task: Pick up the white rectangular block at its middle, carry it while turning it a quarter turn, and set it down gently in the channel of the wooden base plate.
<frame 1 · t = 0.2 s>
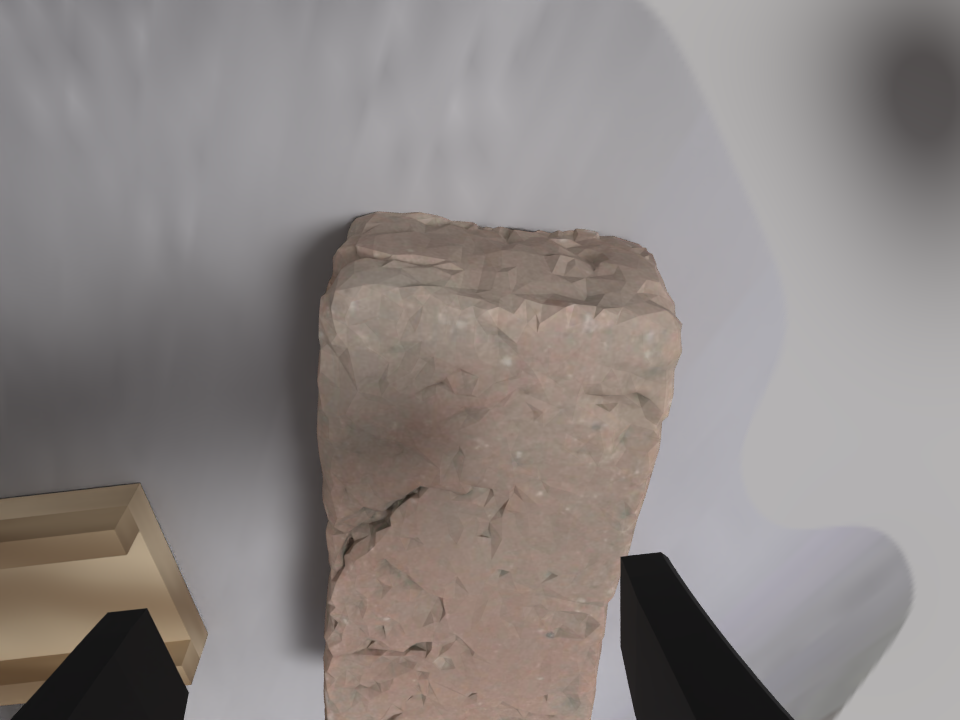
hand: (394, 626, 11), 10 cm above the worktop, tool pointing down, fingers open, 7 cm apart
wooden base plate: (12, 582, 24), on the worktop
brick: (469, 463, 23), on the worktop
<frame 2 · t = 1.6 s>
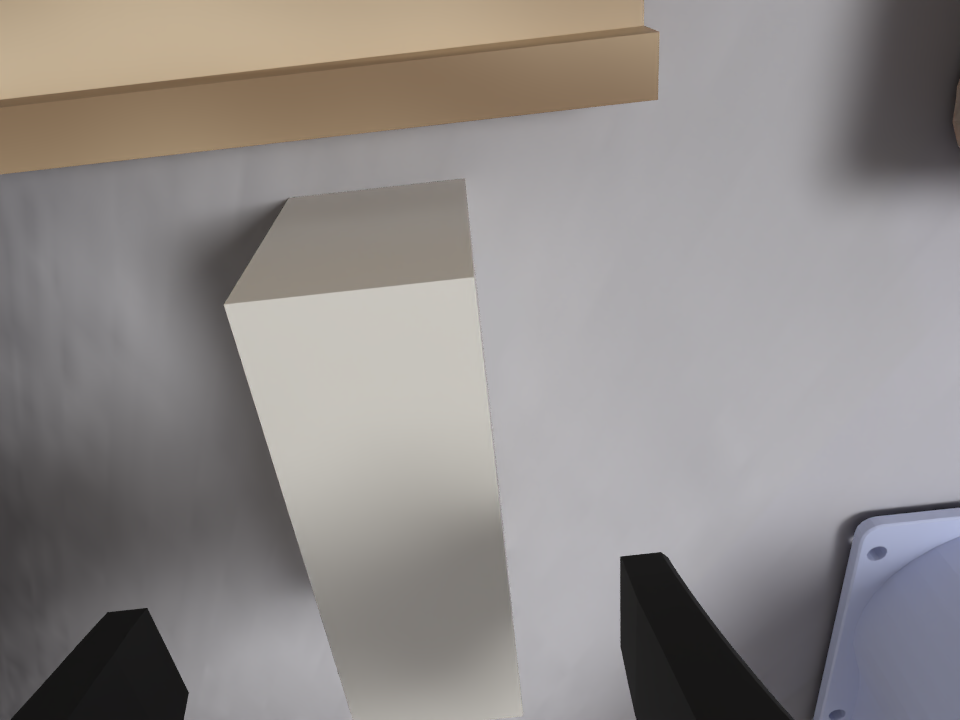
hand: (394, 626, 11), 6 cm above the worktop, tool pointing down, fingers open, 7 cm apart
white rectangular block: (413, 395, 17), on the worktop
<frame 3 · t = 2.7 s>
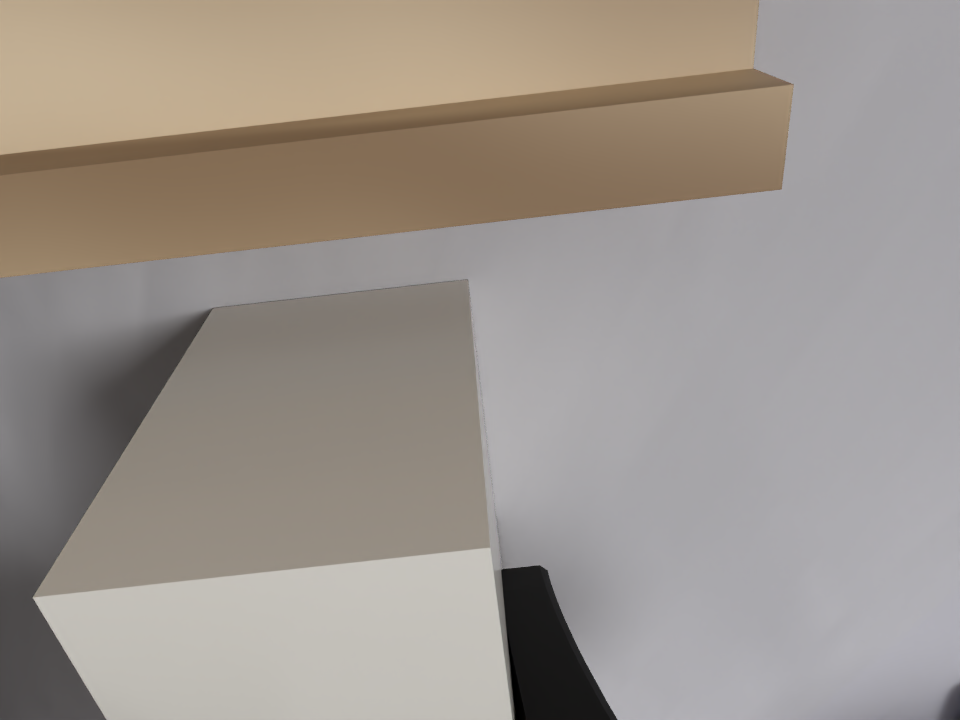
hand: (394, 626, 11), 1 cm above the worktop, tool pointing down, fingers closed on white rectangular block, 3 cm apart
white rectangular block: (398, 557, 12), on the worktop, touching gripper
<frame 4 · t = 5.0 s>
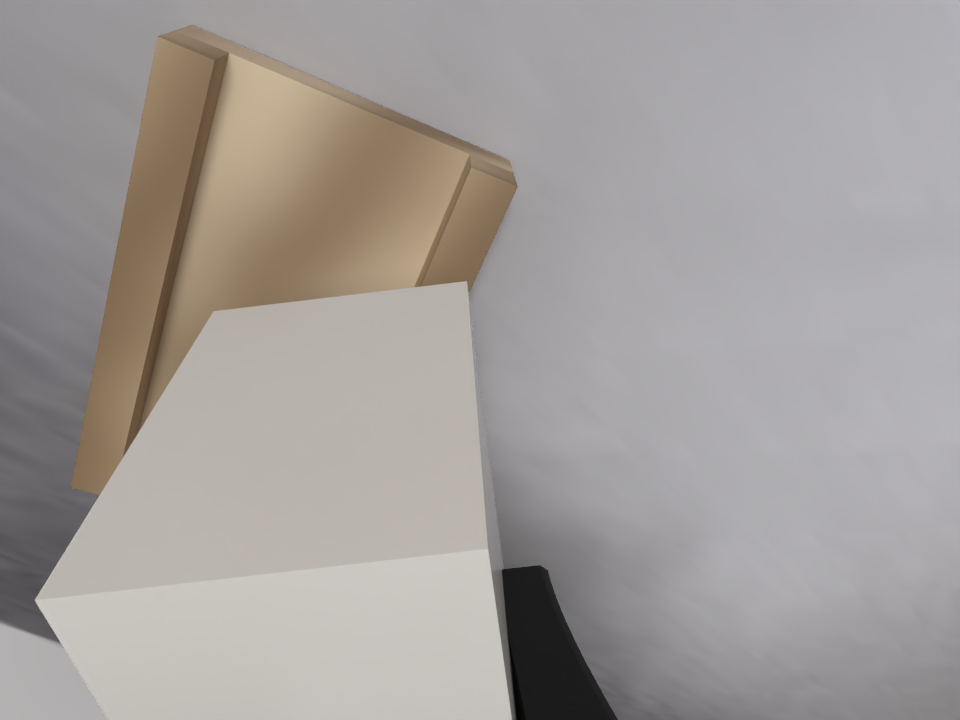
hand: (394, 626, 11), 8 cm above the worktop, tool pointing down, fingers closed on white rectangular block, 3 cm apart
wooden base plate: (287, 312, 18), on the worktop
white rectangular block: (399, 558, 12), point 7 cm above the worktop, touching gripper
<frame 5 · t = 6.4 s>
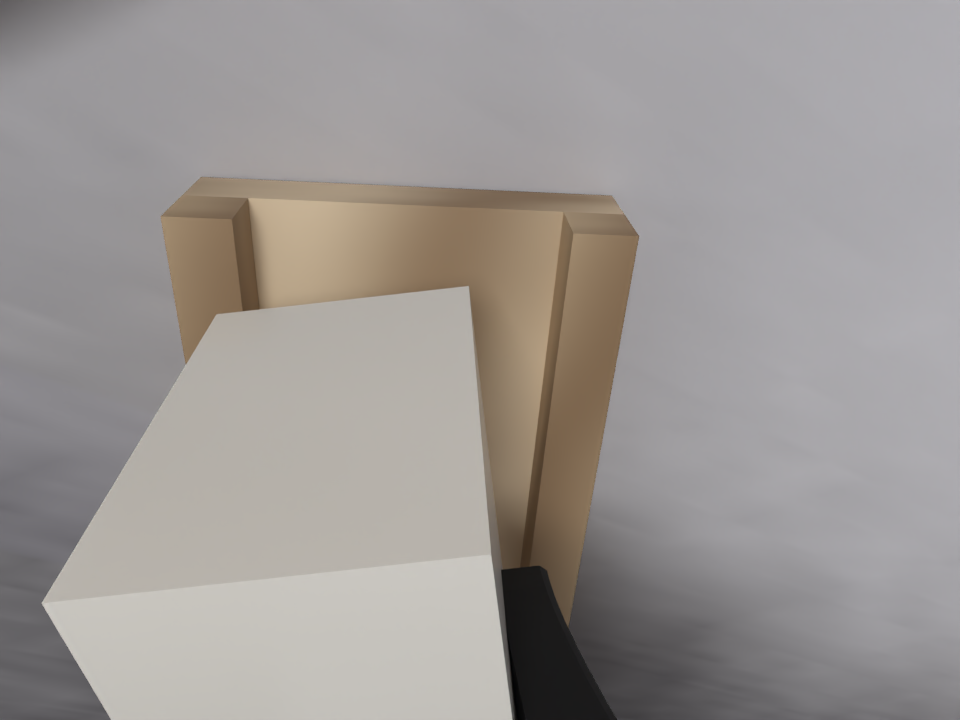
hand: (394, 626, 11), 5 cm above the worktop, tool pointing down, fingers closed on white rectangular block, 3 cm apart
wooden base plate: (407, 444, 15), on the worktop
white rectangular block: (399, 560, 12), point 3 cm above the worktop, touching gripper
when the fingers open (3 cm above the worktop, at t = 7.1 s): white rectangular block stays where it is, resting on wooden base plate.
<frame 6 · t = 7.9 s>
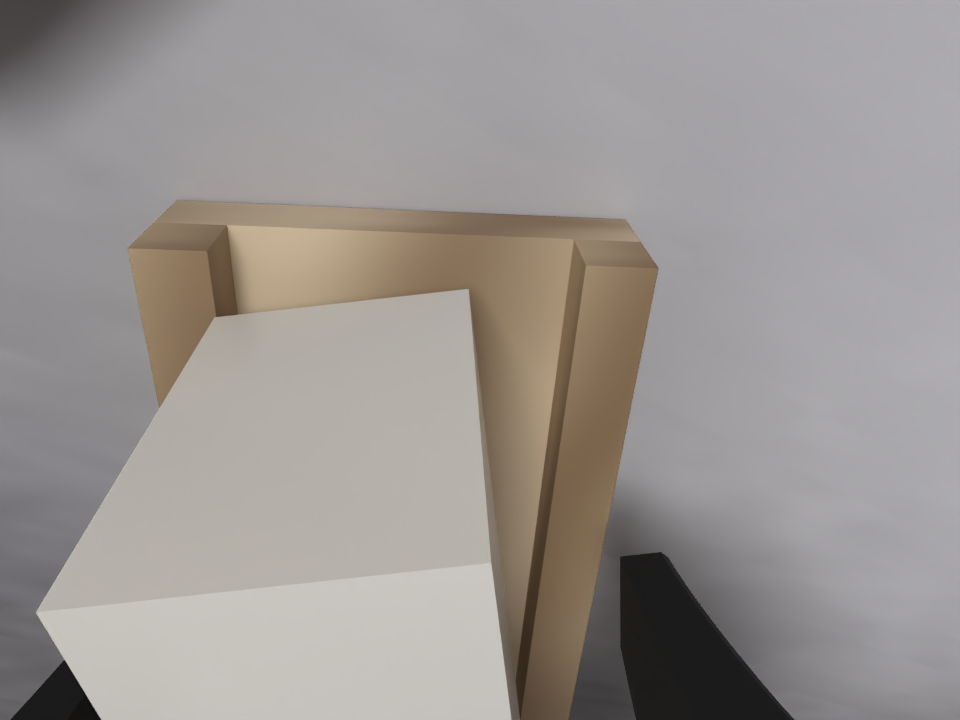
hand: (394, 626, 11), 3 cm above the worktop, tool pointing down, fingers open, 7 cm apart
wooden base plate: (403, 483, 14), on the worktop
white rectangular block: (399, 564, 12), point 2 cm above the worktop, touching wooden base plate
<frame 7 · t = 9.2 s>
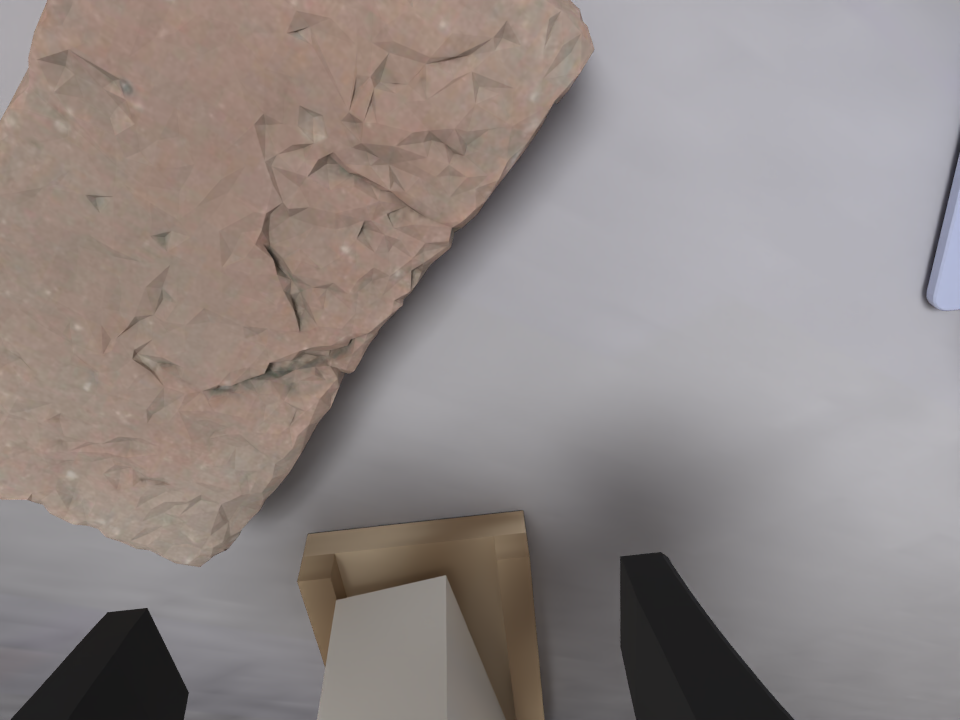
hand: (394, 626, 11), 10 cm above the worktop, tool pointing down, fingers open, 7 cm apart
wooden base plate: (437, 635, 26), on the worktop
white rectangular block: (437, 686, 24), point 2 cm above the worktop, touching wooden base plate
brick: (245, 201, 18), on the worktop
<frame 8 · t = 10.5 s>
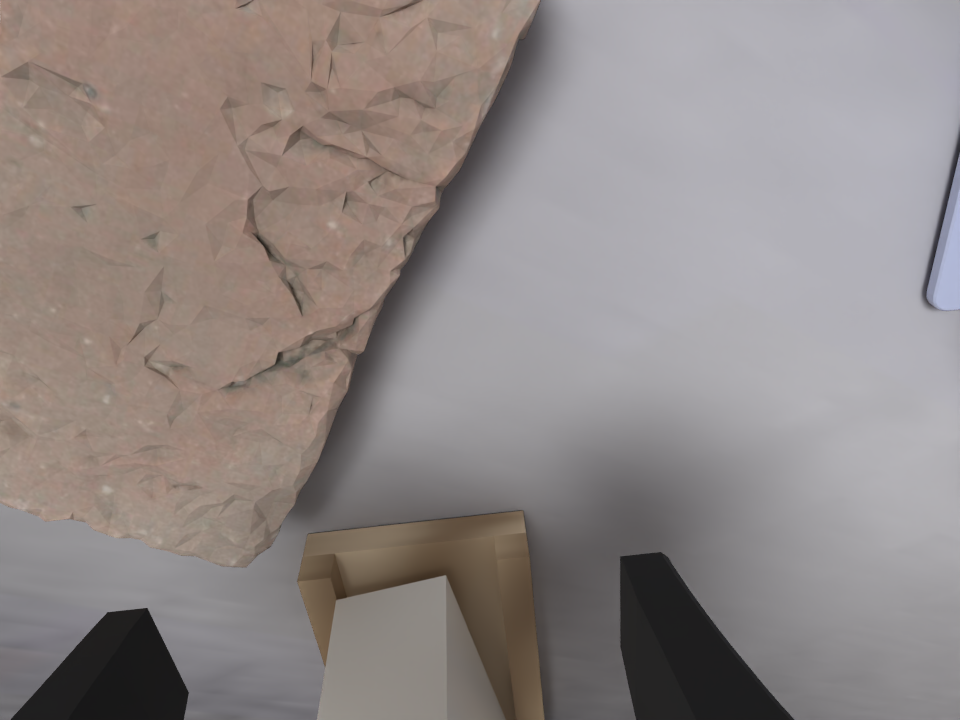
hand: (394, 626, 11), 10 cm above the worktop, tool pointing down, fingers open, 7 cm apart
wooden base plate: (437, 635, 26), on the worktop
white rectangular block: (437, 686, 24), point 2 cm above the worktop, touching wooden base plate
brick: (239, 199, 18), on the worktop
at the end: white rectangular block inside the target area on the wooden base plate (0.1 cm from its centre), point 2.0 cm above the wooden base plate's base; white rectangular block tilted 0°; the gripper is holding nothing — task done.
